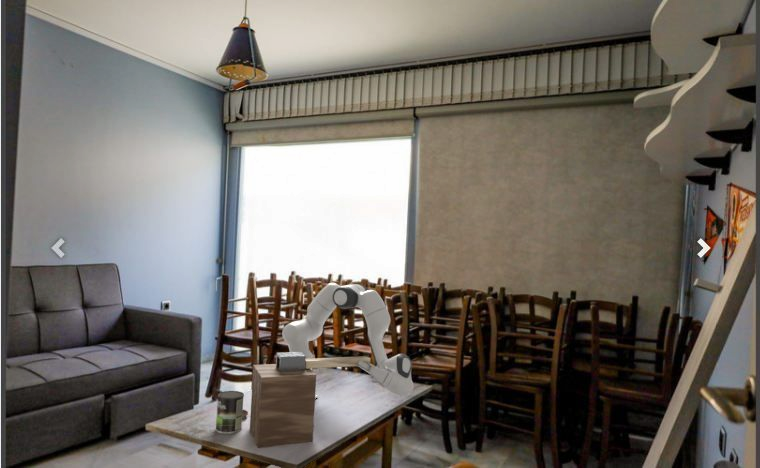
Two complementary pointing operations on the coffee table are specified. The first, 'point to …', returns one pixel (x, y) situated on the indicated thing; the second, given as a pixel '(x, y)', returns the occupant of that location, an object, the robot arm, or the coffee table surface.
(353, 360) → the beech bar
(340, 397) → the coffee table surface
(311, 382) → the brown tall wooden box
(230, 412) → the coffee can
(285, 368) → the metal tunnel
